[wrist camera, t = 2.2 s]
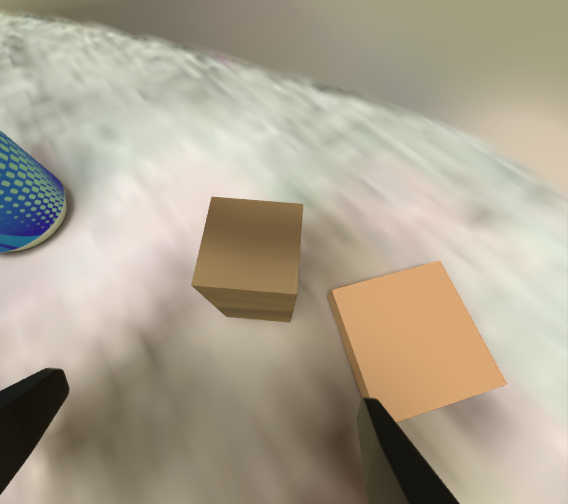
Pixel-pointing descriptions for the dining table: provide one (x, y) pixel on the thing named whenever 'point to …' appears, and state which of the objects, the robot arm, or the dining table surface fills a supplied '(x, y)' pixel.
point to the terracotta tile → (413, 341)
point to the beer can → (27, 199)
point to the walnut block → (250, 258)
